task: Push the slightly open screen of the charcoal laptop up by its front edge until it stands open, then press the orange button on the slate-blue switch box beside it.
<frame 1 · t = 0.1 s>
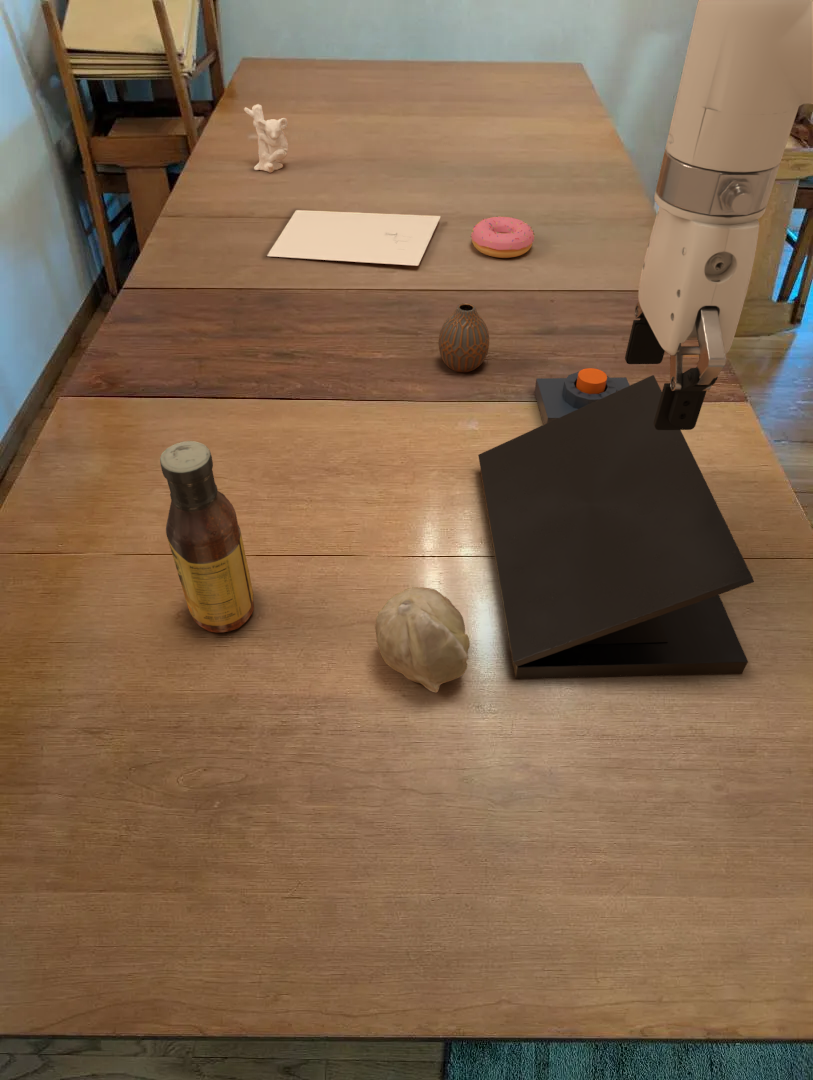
hand: (657, 393, 66), 22 cm above the table, tool pointing down, fingers open, 9 cm apart
doughnut: (501, 249, 139), on the table
paper sheet: (354, 238, 141), on the table
laptop screen: (591, 507, 78), point 7 cm above the table, hinge at 30.0°
sauce bottle: (223, 614, 77), on the table
switch box: (585, 411, 103), on the table
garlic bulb: (419, 664, 73), on the table
vase: (462, 366, 111), on the table
koala figurine: (271, 169, 166), on the table
button: (591, 381, 100), point 4 cm above the table, slide at 0.1 cm
laptop: (594, 560, 83), on the table
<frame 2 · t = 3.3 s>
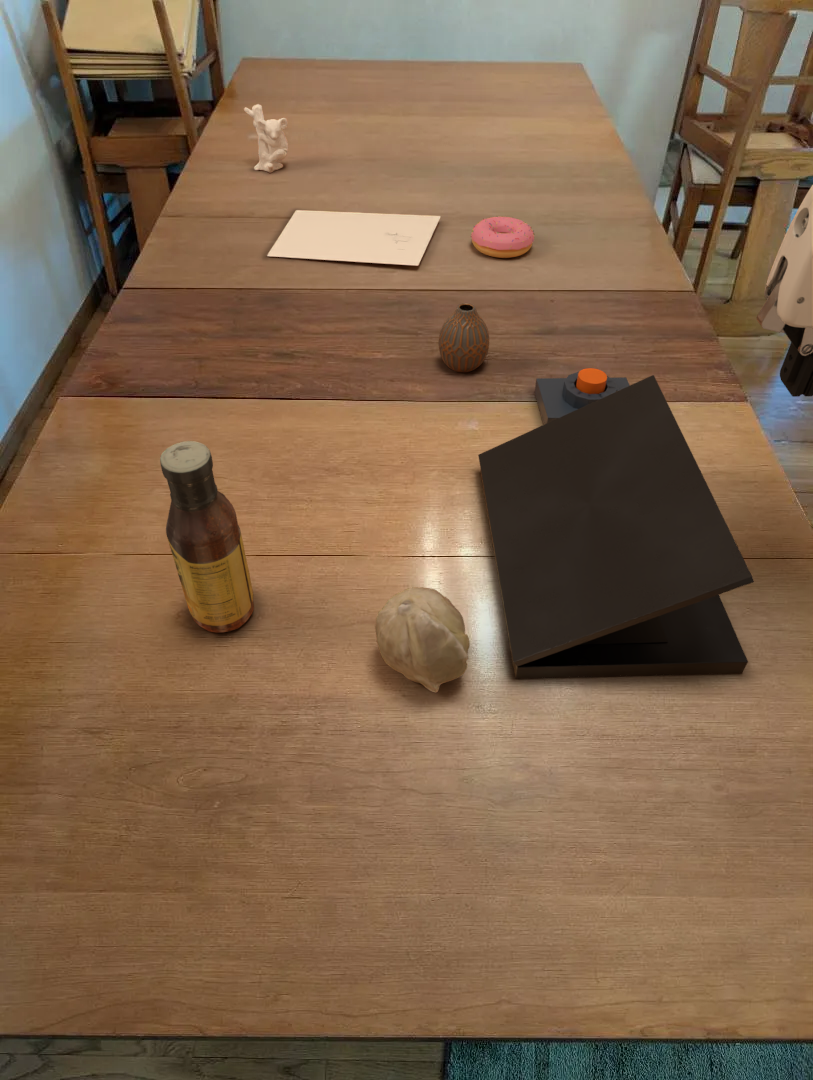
hand: (795, 387, 69), 21 cm above the table, tool pointing down, fingers closed
nothing on the table moved.
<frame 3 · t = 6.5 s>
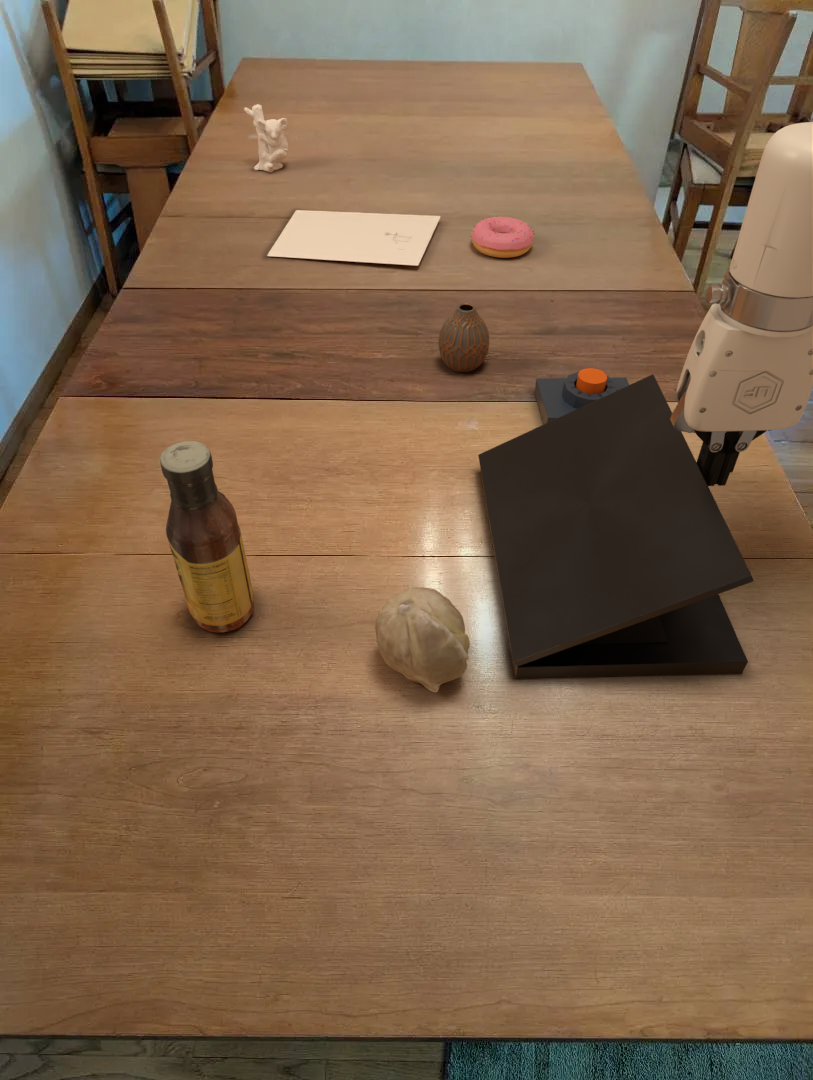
hand: (711, 476, 76), 11 cm above the table, tool pointing down, fingers closed
laptop screen: (591, 507, 78), point 7 cm above the table, hinge at 30.3°, touching gripper
everything else where it was.
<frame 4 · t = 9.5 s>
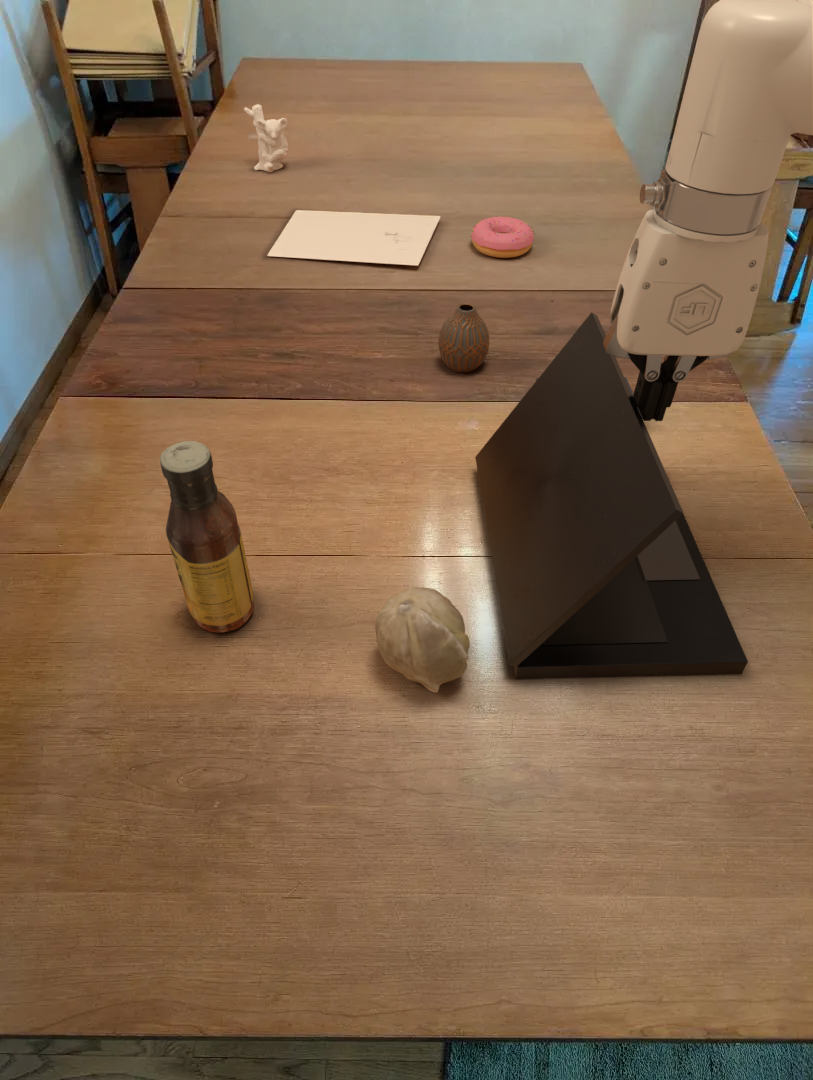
hand: (648, 411, 70), 19 cm above the table, tool pointing down, fingers closed
laptop screen: (556, 479, 75), point 11 cm above the table, hinge at 60.1°, touching gripper
everything else where it was.
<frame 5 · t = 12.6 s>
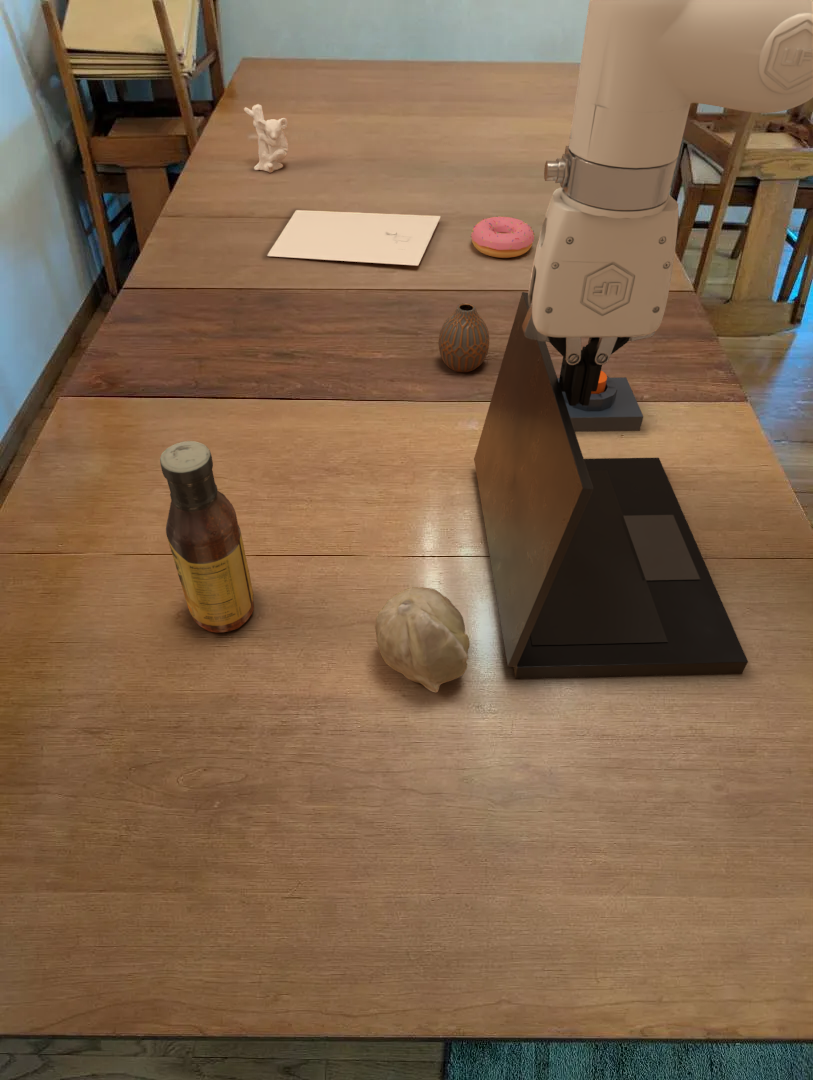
hand: (575, 396, 69), 20 cm above the table, tool pointing down, fingers closed
laptop screen: (519, 470, 74), point 12 cm above the table, hinge at 81.0°
everything else where it was.
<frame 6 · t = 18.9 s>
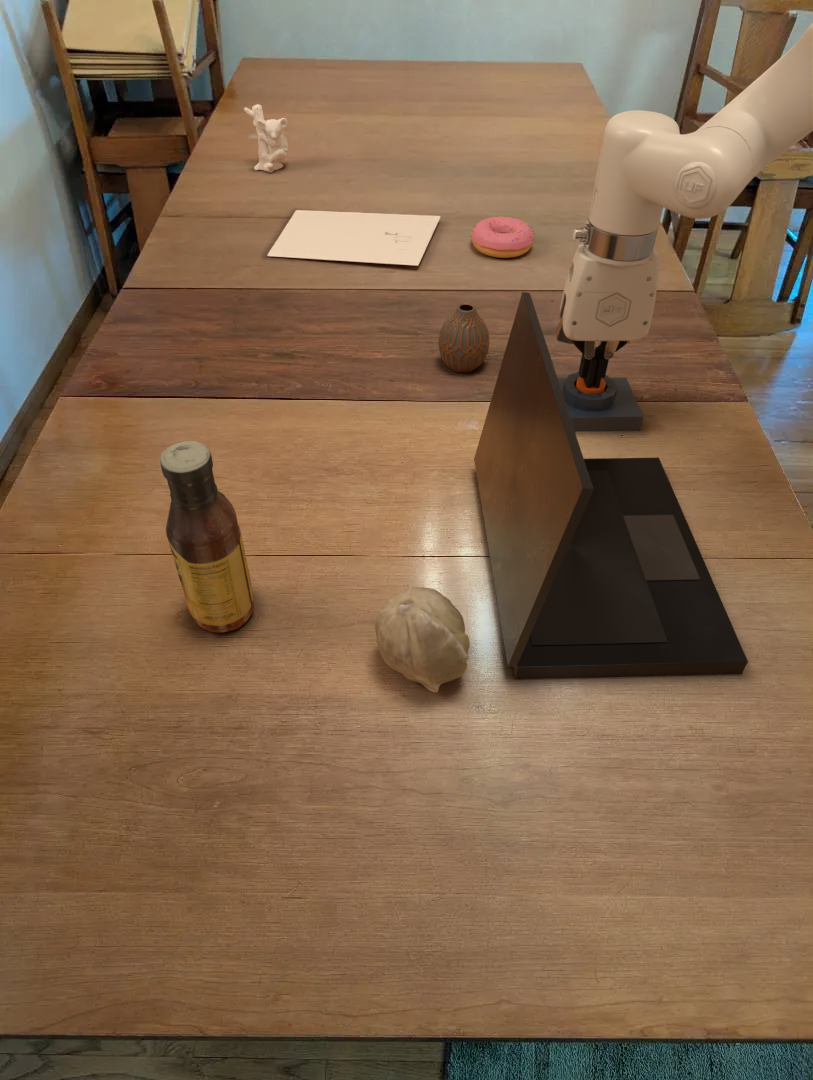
hand: (590, 381, 100), 4 cm above the table, tool pointing down, fingers closed
button: (590, 387, 101), point 4 cm above the table, slide at -0.8 cm, touching gripper
everything else where it was.
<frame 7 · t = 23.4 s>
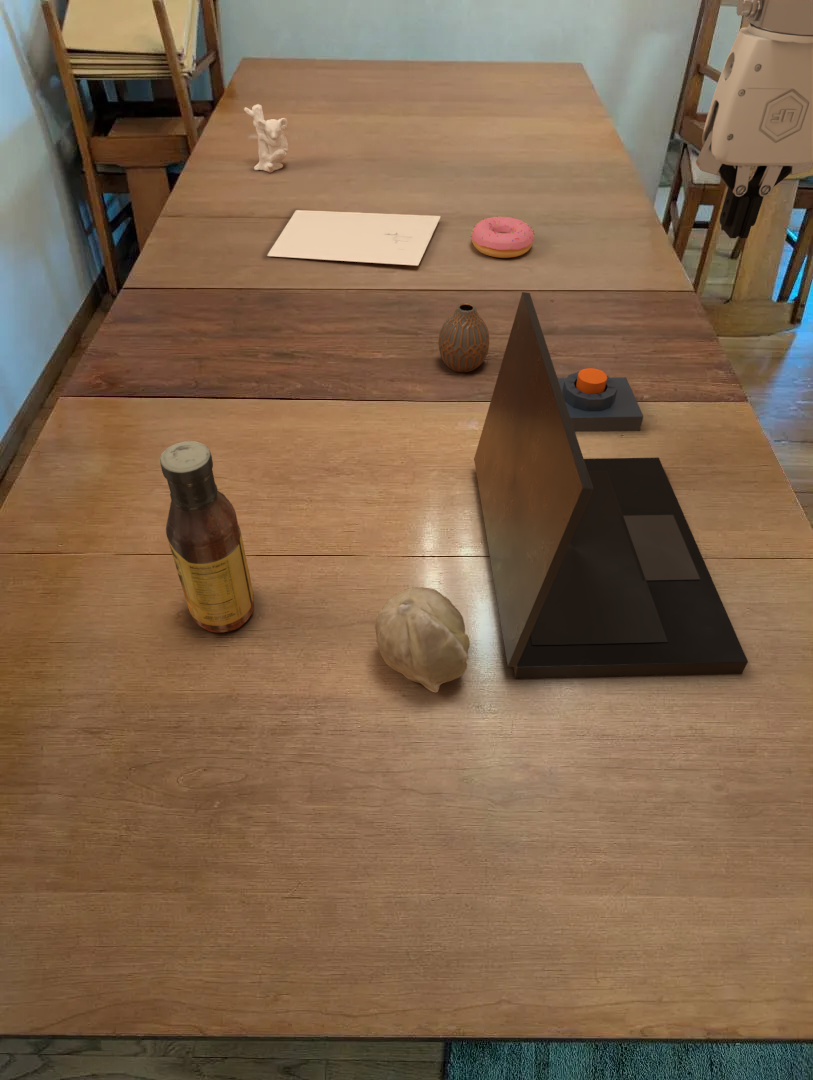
hand: (733, 232, 78), 27 cm above the table, tool pointing down, fingers closed
button: (591, 381, 100), point 4 cm above the table, slide at 0.1 cm
everything else where it was.
at the end: laptop screen at +81° (first picture: +30°); button pushed in 1.1 cm at the most during the clip, back to where it started at the end; button slide at 0.1 cm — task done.
